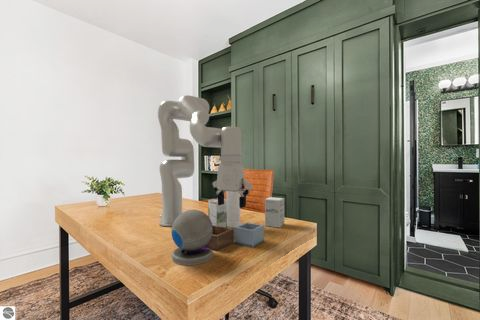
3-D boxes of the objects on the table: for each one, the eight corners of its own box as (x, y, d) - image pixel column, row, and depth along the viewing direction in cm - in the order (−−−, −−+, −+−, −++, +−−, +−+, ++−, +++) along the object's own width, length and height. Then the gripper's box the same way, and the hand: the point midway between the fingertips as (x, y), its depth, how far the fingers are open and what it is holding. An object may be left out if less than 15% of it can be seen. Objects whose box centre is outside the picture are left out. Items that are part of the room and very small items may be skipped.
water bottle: (236, 228, 106) (235, 173, 106) (224, 226, 109) (223, 173, 109) (245, 223, 113) (244, 172, 113) (233, 222, 116) (233, 172, 116)
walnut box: (196, 245, 85) (195, 231, 85) (213, 237, 94) (213, 225, 94) (217, 250, 80) (216, 236, 80) (233, 242, 88) (233, 228, 88)
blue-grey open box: (234, 243, 87) (234, 227, 87) (246, 237, 93) (246, 222, 93) (253, 247, 82) (253, 230, 82) (264, 241, 89) (263, 225, 89)
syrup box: (218, 230, 103) (218, 197, 103) (227, 233, 99) (227, 199, 99) (208, 233, 99) (207, 199, 99) (217, 236, 95) (216, 200, 95)
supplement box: (264, 226, 109) (264, 199, 109) (270, 222, 115) (270, 196, 115) (279, 228, 105) (279, 200, 105) (285, 224, 112) (284, 197, 112)
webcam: (220, 256, 76) (220, 209, 76) (186, 269, 66) (185, 216, 66) (197, 246, 85) (196, 204, 85) (164, 256, 75) (163, 210, 76)
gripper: (206, 160, 89) (207, 205, 89) (245, 160, 79) (246, 210, 80) (218, 160, 95) (219, 202, 95) (256, 160, 86) (256, 206, 86)
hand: (231, 206), depth 87 cm, fingers open, 9 cm apart
